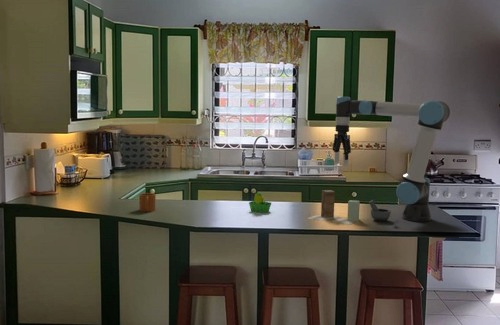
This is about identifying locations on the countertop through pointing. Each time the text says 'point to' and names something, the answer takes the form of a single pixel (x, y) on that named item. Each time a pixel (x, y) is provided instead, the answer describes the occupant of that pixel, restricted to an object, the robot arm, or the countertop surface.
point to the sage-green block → (353, 210)
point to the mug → (147, 202)
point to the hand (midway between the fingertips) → (341, 164)
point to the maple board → (333, 219)
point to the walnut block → (327, 204)
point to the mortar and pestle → (379, 213)
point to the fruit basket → (259, 204)
